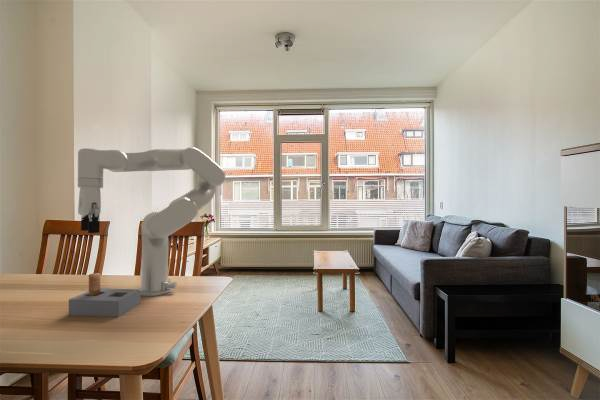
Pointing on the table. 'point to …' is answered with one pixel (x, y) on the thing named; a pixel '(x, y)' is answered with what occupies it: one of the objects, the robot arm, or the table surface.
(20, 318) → the table surface
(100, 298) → the bore block
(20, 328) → the table surface
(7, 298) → the table surface
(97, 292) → the dowel
